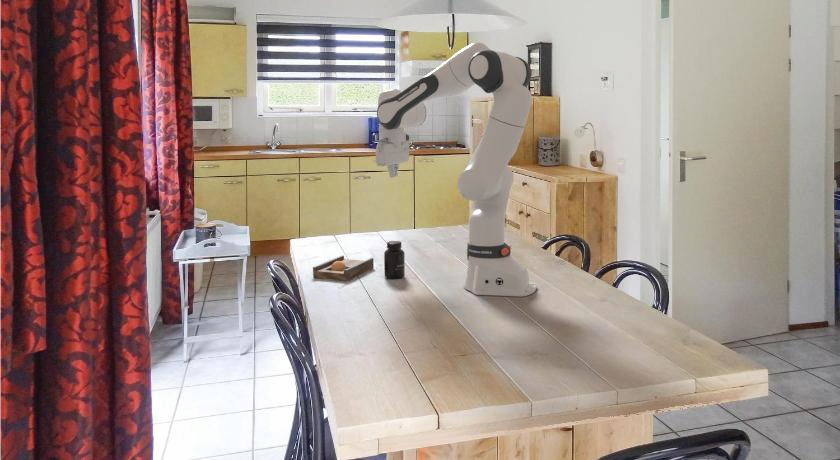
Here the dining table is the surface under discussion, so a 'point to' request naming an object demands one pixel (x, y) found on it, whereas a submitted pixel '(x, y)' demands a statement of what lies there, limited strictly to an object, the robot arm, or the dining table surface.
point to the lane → (351, 271)
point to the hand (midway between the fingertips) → (393, 177)
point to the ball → (338, 266)
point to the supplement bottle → (394, 260)
